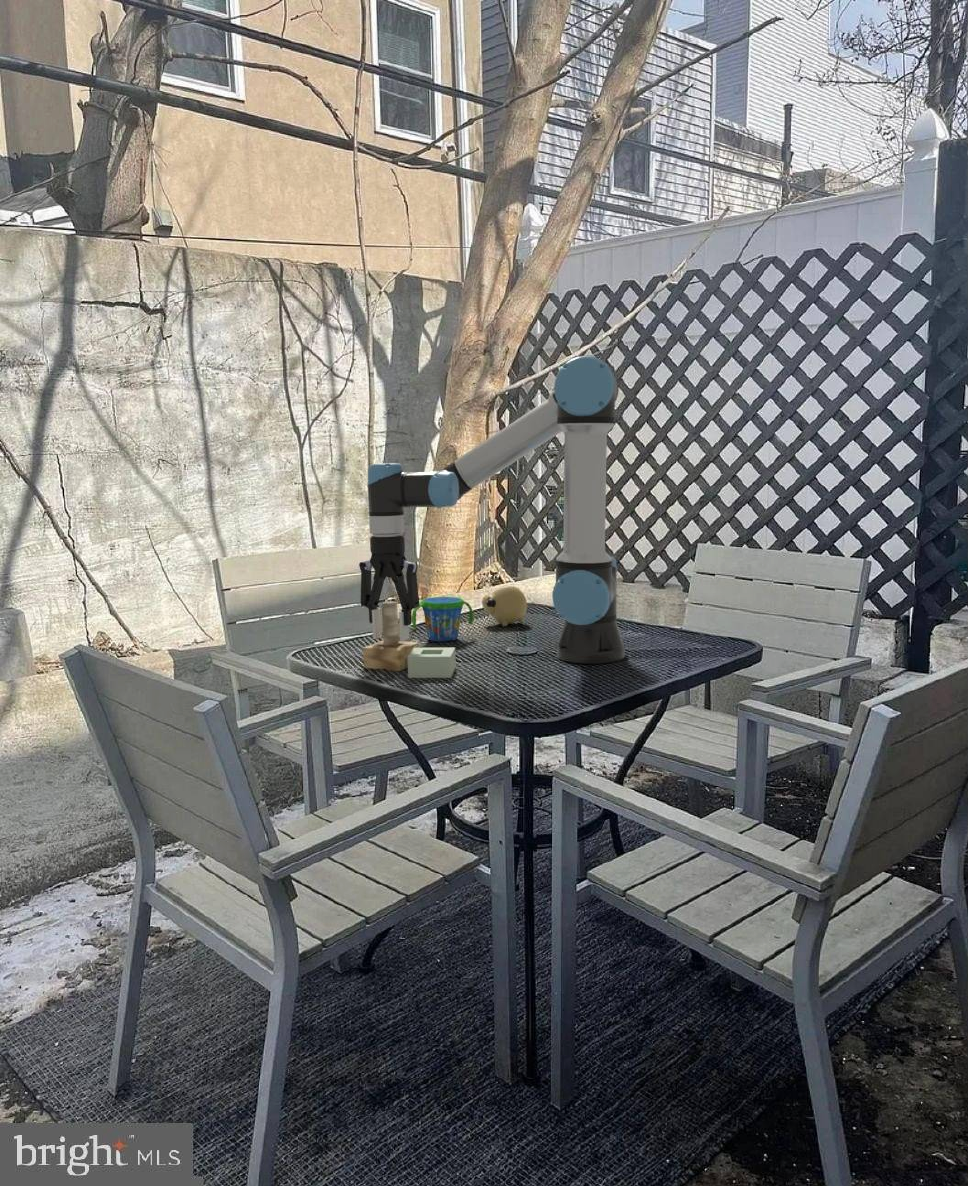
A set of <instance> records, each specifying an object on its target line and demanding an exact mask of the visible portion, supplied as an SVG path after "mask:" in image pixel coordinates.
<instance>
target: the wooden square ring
mask: <svg viewBox="0 0 968 1186" xmlns="http://www.w3.org/2000/svg"><path fill="white" fill-rule="evenodd" d="M414 648H420V642H418V641H417V642H415V641H410V642H406V641H399V646H398V647H395V648H392V647H383V639H382V640H380V641H378V642H375V643H372V644H369V645H366V646H364V647H363V648H362V651H363V652H362V653H363V655H362V656H363V657H362V659H363V668H365V669H373V670H383V669H386V670H385V671H395V672H396V671H397V672H401V671H403V670H404V669H405V670H406V669H408V655H409V654H410V653H411V651H412V650H413V649H414Z"/></svg>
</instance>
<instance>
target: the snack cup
mask: <svg viewBox="0 0 968 1186" xmlns="http://www.w3.org/2000/svg"><path fill="white" fill-rule="evenodd" d="M464 605H466V607H468V610H469V614H468V615H469V616H468V624H469V625H473V622H474V612H473V608H472V606H471V605H470V603H468V602H467V601H465V600H464V599H463V598H461V597H456V596H454V597H453V596H434V597H427V598H423V599H421V601H419V607H417V608H414V609H412V612H411V615H412V623H411V625H412V628H413V629H418V626H417V611H418V610H419V609H420V608H421V607H422V611H423V616H424V623H425V626H426V634H427V639H428V641H433V642H442V643H443V642H449V641H455V640H457V639H458V637H459V632H460V626H461V615H462V610H463V606H464Z"/></svg>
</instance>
